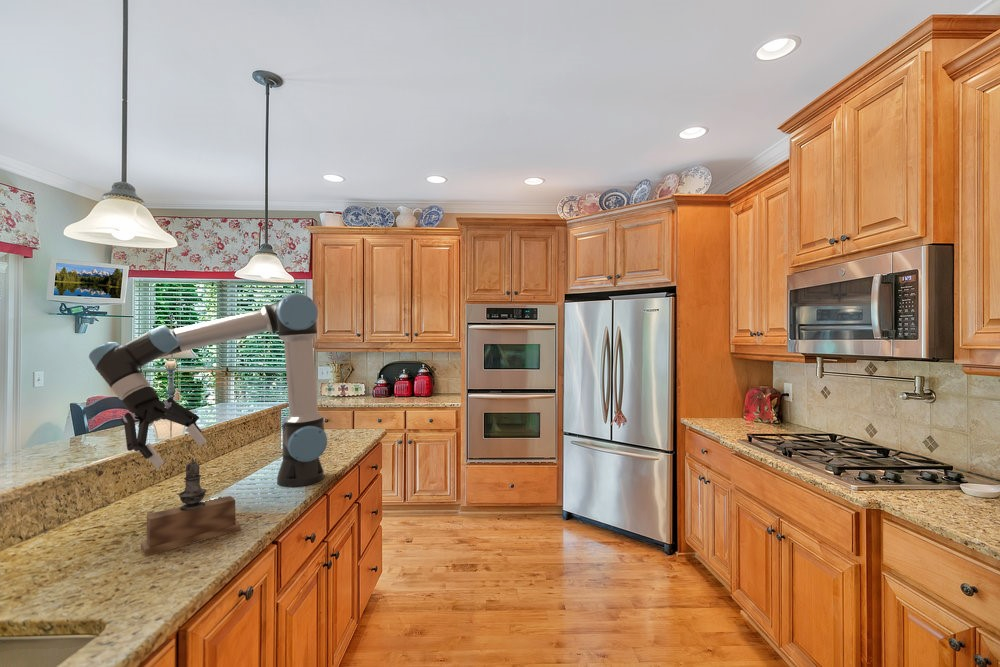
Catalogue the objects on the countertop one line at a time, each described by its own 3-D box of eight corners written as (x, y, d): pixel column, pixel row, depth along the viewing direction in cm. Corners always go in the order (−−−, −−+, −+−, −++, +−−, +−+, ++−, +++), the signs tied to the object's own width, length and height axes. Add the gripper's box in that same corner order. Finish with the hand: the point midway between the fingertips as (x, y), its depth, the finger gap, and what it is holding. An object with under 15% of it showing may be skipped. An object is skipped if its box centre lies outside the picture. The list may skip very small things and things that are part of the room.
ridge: (233, 523, 125) (233, 494, 125) (240, 530, 120) (240, 499, 120) (141, 547, 111) (141, 514, 111) (144, 556, 106) (144, 521, 106)
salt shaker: (212, 503, 117) (212, 456, 118) (190, 512, 112) (189, 462, 112) (195, 501, 119) (195, 455, 119) (172, 509, 114) (172, 461, 114)
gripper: (168, 386, 140) (211, 442, 141) (80, 416, 116) (131, 483, 117) (183, 373, 138) (226, 430, 139) (96, 401, 114) (148, 469, 115)
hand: (183, 454), depth 128 cm, fingers open, 13 cm apart
